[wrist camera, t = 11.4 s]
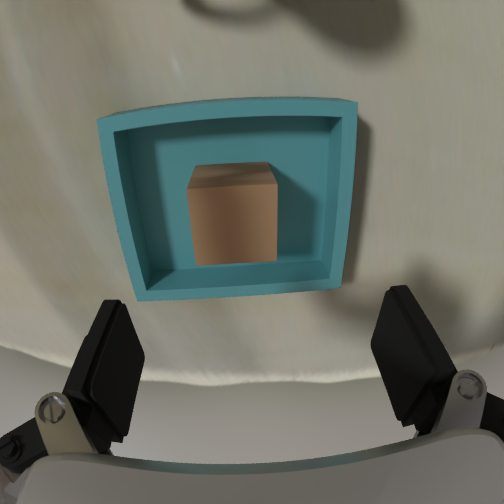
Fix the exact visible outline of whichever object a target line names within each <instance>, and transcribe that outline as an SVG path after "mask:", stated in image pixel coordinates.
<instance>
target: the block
mask: <svg viewBox="0 0 504 504" xmlns="http://www.w3.org/2000/svg"><path fill="white" fill-rule="evenodd" d="M186 190H187V199H188V207H189V216H190V224H191V231H192V239H193V247H194V254H195V261H196V266H201V265H219V264H236V263H253V262H270V261H277V202H278V184H277V182H276V179H275V177H274V175H273V173H272V171H271V169H270V166H269V164H268V162H243V163H224V164H209V165H196V166H195V168H194V170H193V173H192V176H191V178H190V181H189V184H188V186H187V189H186Z"/></svg>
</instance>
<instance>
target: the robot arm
mask: <svg viewBox="0 0 504 504" xmlns="http://www.w3.org/2000/svg"><path fill="white" fill-rule="evenodd" d="M371 349H372V352H373V355H374V357H375V360H376V363H377V365H378V368H379V371H380V373H381V376H382V379H383V382H384V384H385V387H386V390H387V393H388V396H389V398H390V401H391V404H392V407H393V410H394V412H395V416H396V418H397V420H399V421H401V423H402V425H403V427H405V426H409V425H413V424H414V425H415V428H416V430H417V431H416V433H415V435H414V437H413V439H409V440H405V441H401V442H398V443H393V444H389V445H384V446H380V447H376V448H371V449H367V450H362V451H357V452H352V453H346V454H341V455H334V456H328V457H321V458H314V459H306V460H296V461H287V462H273V463H256V464H192V463H174V462H163V461H152V460H142V459H134V458H126V457H118V456H114V455H113V454H112V452H111V450H110V446H111V442H119V443H122V442H123V437H124V436H127V434H128V431H129V427H130V422H131V417H132V412H133V408H134V403H135V398H136V395H137V390H138V385H139V382H140V377H141V373H142V369H143V365H144V360H145V355H144V351H143V349H142V346H141V344H140V341H139V339H138V336H137V334H136V331H135V329H134V326H133V323H132V321H131V318H130V315H129V313H128V310H127V307H126V305H125V304H122V303H121V301H120V300H104V301H103V303H102V305H101V307H100V309H99V311H98V313H97V315H96V317H95V320H94V322H93V324H92V326H91V328H90V331H89V333H88V335H87V336H86V337H85V338H84V340H83V343H82V345H81V347H80V350H79V352H78V354H77V357H76V359H75V361H74V364H73V366H72V369H71V371H70V374H69V376H68V379H67V381H66V384H65V387H64V389H63V392H62V394H61V393H58V392H52V393H49V394H46V395H45V396H43V397H42V398H41V399H40V400H39V401H38V403H37V405H36V407H35V417H34V418H33V419H31V420H29V421H27V422H26V423H24V424H22V425H21V426H19V427H17V428H16V429H14V430H12V431H10V432H9V433H7V434H5V435H4V436H3V437H1V438H0V504H504V400H503V399H501V398H499V397H497V396H494V395H492V394H490V393H488V392H487V386H486V383H485V381H484V379H483V378H482V376H480V375H479V374H478V373H476V372H475V371H472V370H462V371H459V372H458V371H457V370H456V368H455V366H454V364H453V362H452V360H451V358H450V356H449V355H448V353H447V351H446V349H445V347H444V346H443V344H442V342H441V340H440V338H439V337H438V335H437V333H436V331H435V330H434V328H433V326H432V325H431V323H430V321H429V320H428V319H427V317H426V315H425V314H424V312H423V310H422V309H421V307H420V305H419V304H418V302H417V301H416V299H415V297H414V296H413V294H412V293H411V291H410V290H409V288H408V287H407V286H406V285H399V286H391V287H390V289H389V290H388V291H386V293H385V296H384V299H383V303H382V306H381V310H380V313H379V317H378V320H377V323H376V327H375V330H374V333H373V336H372V339H371Z"/></svg>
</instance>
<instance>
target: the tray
mask: <svg viewBox="0 0 504 504" xmlns="http://www.w3.org/2000/svg"><path fill="white" fill-rule="evenodd" d="M357 111H358V102H353V101H349V100H344V99H339V98H319V97H248V98H228V99H214V100H202V101H192V102H183V103H174V104H167V105H159V106H152V107H146V108H140V109H134V110H128V111H123V112H117V113H114V114H111V115H108V116H105V117H102V118H99V119H97V124H98V131H99V138H100V145H101V151H102V157H103V163H104V169H105V174H106V179H107V184H108V189H109V194H110V199H111V204H112V208H113V213H114V217H115V221H116V226H117V230H118V234H119V238H120V242H121V246H122V250H123V253H124V257H125V261H126V264H127V268H128V271H129V275H130V278H131V282H132V285H133V288H134V292H135V295H136V298H137V301H162V300H184V299H204V298H221V297H237V296H252V295H266V294H279V293H291V292H303V291H314V290H325V289H335V288H340V287H341V280H342V274H343V267H344V260H345V253H346V245H347V238H348V229H349V221H350V212H351V202H352V191H353V180H354V167H355V153H356V135H357ZM243 162H268V164H269V166H270V169H271V171H272V173H273V175H274V177H275V179H276V182H277V184H278V202H277V261H270V262H253V263H236V264H219V265H201V266H196V261H195V254H194V247H193V239H192V231H191V224H190V216H189V207H188V199H187V190H186V189H187V186H188V184H189V181H190V178H191V176H192V173H193V170H194V168H195V166H196V165H209V164H224V163H243Z"/></svg>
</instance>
